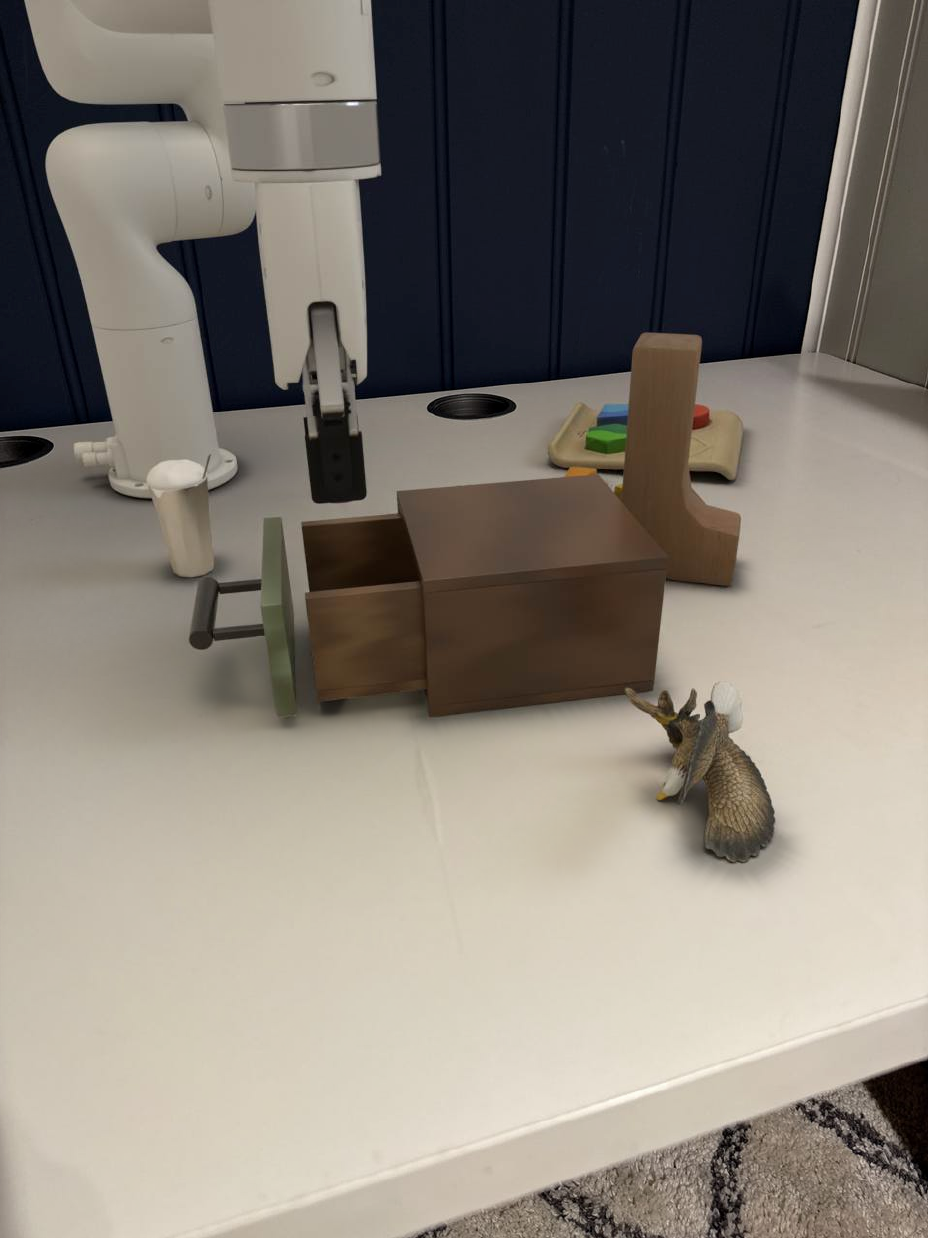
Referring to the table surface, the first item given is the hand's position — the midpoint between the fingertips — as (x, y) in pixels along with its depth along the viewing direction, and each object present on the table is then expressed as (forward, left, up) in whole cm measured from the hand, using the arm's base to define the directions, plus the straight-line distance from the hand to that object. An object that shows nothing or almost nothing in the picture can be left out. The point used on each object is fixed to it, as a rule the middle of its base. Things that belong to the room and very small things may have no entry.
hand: (337, 486), depth 54 cm
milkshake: (-12, +17, -13) cm, 25 cm away
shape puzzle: (+32, +33, -13) cm, 48 cm away
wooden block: (+26, +9, -13) cm, 31 cm away
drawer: (-1, 0, -12) cm, 12 cm away
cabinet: (+11, 0, -13) cm, 17 cm away
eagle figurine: (+17, -17, -13) cm, 28 cm away
